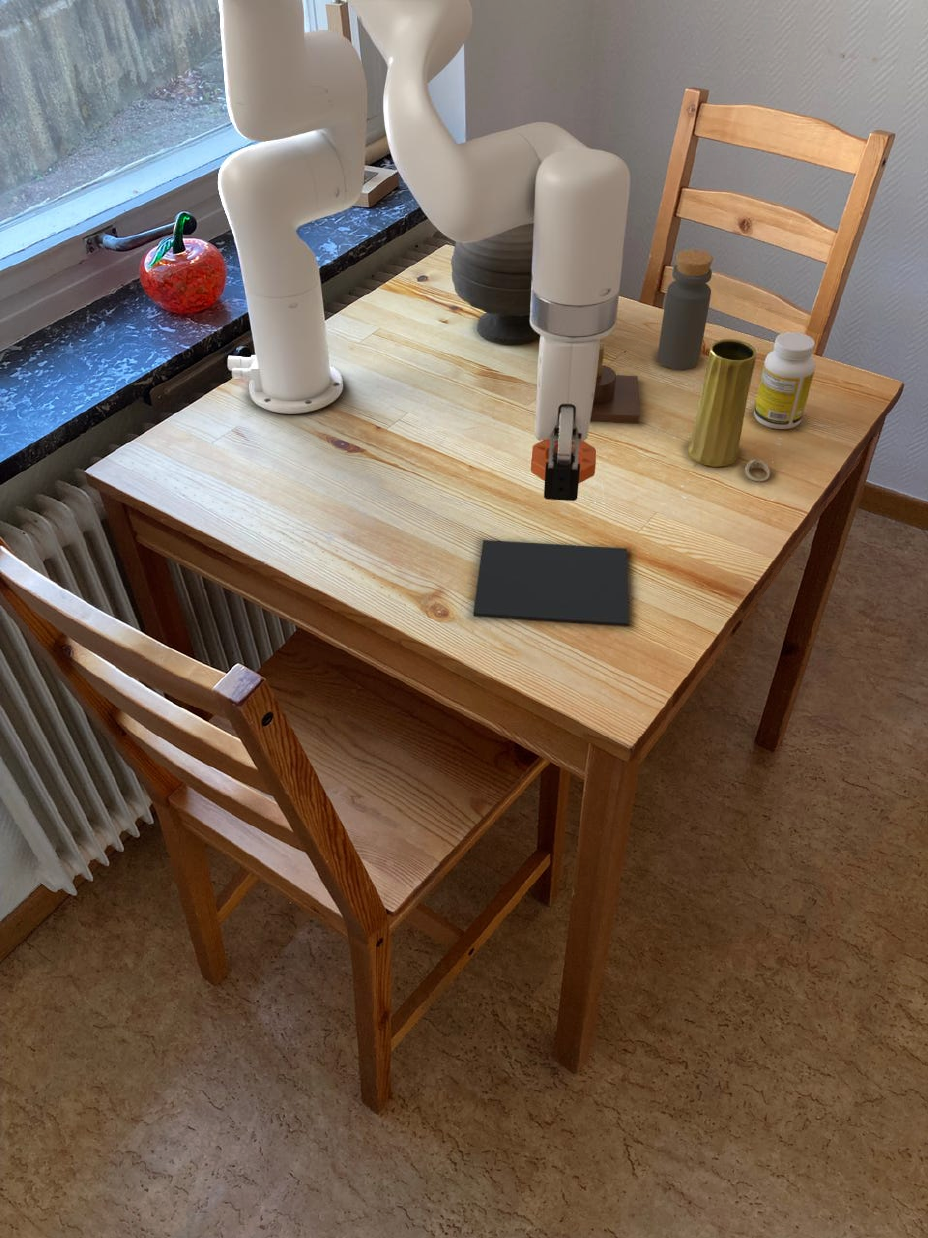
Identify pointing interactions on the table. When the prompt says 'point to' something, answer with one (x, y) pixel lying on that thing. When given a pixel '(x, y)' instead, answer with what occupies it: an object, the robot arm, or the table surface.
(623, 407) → the stand
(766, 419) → the pill bottle
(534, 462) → the orange ring
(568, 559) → the mat
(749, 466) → the ring
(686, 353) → the bottle
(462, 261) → the pot
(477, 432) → the table surface
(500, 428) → the table surface
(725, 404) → the vase
